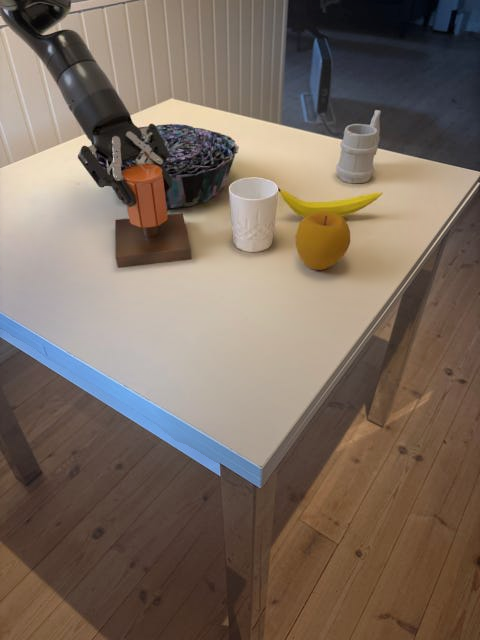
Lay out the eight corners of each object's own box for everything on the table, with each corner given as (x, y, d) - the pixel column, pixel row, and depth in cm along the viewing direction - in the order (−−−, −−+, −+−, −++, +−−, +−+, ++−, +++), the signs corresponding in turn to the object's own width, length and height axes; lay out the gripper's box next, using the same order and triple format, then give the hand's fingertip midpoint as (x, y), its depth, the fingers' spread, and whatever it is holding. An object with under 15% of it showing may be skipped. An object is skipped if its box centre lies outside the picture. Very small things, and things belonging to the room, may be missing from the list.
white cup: (280, 233, 86) (282, 180, 79) (270, 257, 80) (272, 202, 74) (237, 227, 88) (236, 174, 81) (224, 250, 82) (222, 196, 75)
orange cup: (130, 229, 78) (121, 182, 72) (129, 210, 82) (121, 165, 77) (169, 225, 79) (163, 178, 73) (165, 206, 83) (160, 161, 78)
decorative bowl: (144, 161, 114) (135, 117, 107) (256, 169, 105) (254, 121, 99) (83, 213, 95) (67, 164, 89) (212, 227, 87) (205, 174, 81)
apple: (334, 287, 74) (342, 237, 68) (284, 271, 77) (287, 222, 72) (353, 259, 80) (361, 210, 74) (305, 245, 83) (310, 198, 77)
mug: (328, 177, 103) (335, 119, 95) (357, 159, 109) (366, 103, 101) (360, 187, 99) (370, 128, 91) (388, 168, 106) (399, 111, 98)
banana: (379, 221, 89) (386, 189, 85) (275, 223, 89) (277, 191, 84) (375, 213, 91) (382, 181, 87) (274, 215, 91) (275, 184, 86)
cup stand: (117, 267, 79) (108, 223, 73) (117, 229, 87) (108, 188, 82) (191, 258, 80) (187, 215, 75) (183, 222, 89) (179, 181, 84)
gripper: (57, 98, 68) (121, 203, 70) (139, 77, 76) (195, 171, 78) (47, 127, 74) (106, 222, 76) (124, 104, 82) (176, 191, 84)
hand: (151, 196), depth 77 cm, fingers closed on orange cup, 6 cm apart
